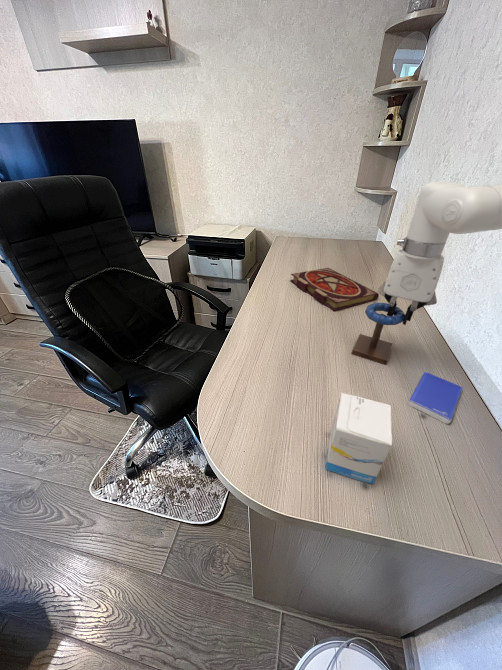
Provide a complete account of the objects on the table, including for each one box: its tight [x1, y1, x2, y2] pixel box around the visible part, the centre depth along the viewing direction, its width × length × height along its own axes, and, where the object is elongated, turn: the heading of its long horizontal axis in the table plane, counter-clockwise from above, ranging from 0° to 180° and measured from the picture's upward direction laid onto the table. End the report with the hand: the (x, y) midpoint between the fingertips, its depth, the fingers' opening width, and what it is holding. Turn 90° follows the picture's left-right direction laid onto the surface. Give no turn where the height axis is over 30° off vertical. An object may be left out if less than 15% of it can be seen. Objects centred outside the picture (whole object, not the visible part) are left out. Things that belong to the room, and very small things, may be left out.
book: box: [289, 267, 380, 312], centre depth 109 cm, size 28×21×5 cm
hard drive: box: [407, 371, 463, 425], centre depth 63 cm, size 2×8×12 cm
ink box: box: [324, 392, 393, 485], centre depth 48 cm, size 9×8×12 cm
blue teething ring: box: [364, 302, 406, 326], centre depth 71 cm, size 9×9×2 cm
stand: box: [351, 313, 393, 366], centre depth 75 cm, size 9×9×12 cm
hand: (397, 319), depth 70 cm, fingers closed on blue teething ring, 2 cm apart
